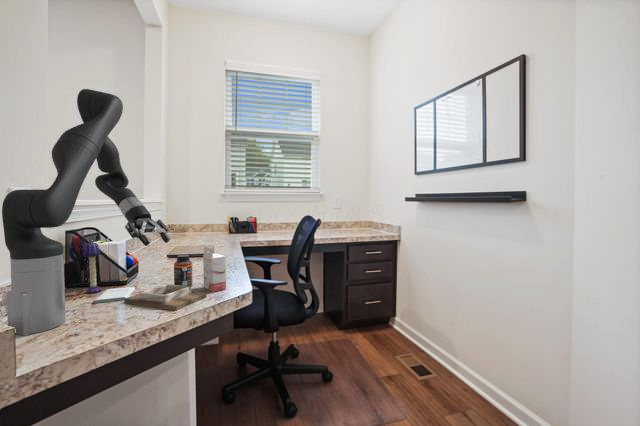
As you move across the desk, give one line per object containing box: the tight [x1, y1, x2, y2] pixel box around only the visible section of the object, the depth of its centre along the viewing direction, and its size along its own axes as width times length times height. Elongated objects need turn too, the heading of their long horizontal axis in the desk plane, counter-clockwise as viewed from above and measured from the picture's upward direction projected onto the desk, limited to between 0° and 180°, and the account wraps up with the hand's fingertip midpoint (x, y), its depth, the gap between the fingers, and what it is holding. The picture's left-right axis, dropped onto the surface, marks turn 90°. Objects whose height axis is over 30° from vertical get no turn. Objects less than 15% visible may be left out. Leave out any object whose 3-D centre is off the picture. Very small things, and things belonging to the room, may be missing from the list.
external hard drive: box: [93, 286, 136, 304], centre depth 94 cm, size 2×8×12 cm
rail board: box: [124, 283, 207, 311], centre depth 90 cm, size 12×20×3 cm, turn 71°
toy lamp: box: [82, 242, 102, 295], centre depth 98 cm, size 5×5×17 cm
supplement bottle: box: [173, 254, 193, 288], centre depth 104 cm, size 6×6×11 cm
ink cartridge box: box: [202, 246, 227, 293], centre depth 102 cm, size 9×5×15 cm, turn 43°
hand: (158, 242), depth 107 cm, fingers open, 8 cm apart
